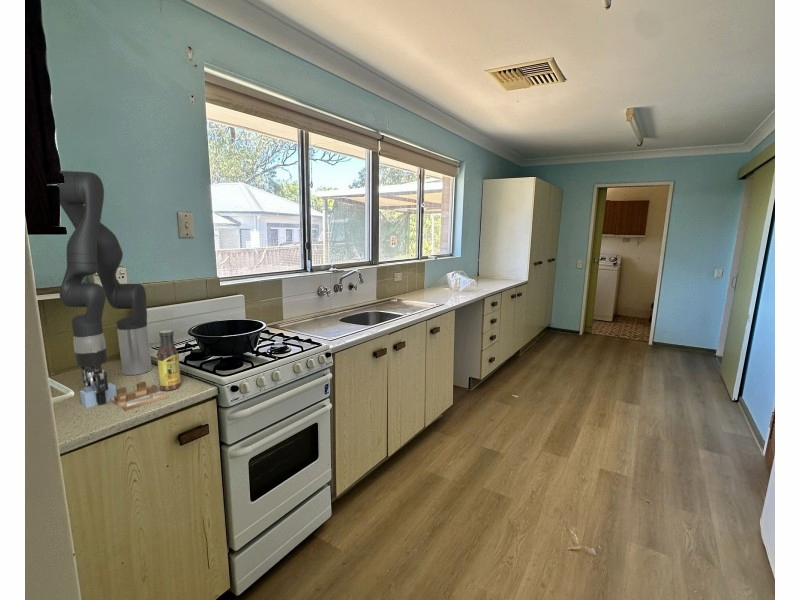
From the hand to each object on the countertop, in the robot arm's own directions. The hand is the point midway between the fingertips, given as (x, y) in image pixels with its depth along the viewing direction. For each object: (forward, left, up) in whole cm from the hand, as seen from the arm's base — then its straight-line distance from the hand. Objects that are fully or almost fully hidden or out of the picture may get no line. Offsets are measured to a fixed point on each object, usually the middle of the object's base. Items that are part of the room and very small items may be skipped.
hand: (97, 399), depth 121 cm
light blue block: (0, +1, -1) cm, 1 cm away
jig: (+7, +8, -1) cm, 11 cm away
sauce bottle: (+6, +19, -1) cm, 20 cm away
